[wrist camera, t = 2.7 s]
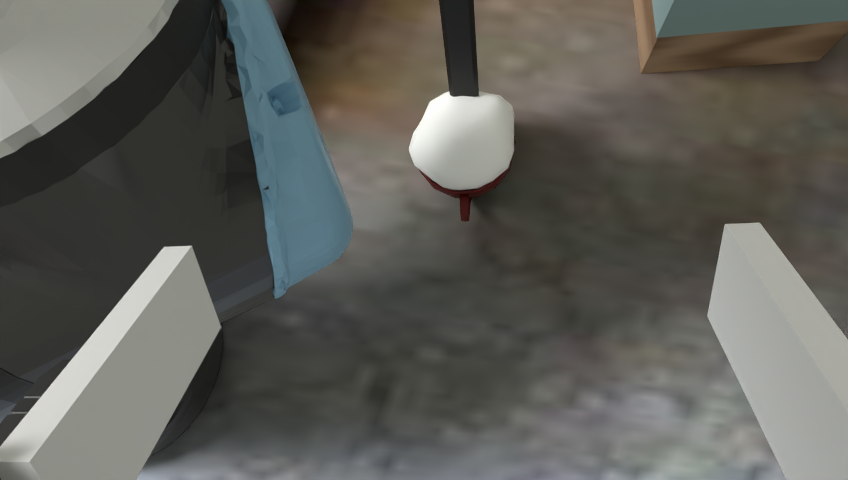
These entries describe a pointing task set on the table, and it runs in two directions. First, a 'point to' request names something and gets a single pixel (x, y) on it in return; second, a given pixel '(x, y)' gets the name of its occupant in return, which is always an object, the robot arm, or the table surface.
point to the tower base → (731, 45)
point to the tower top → (741, 15)
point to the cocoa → (463, 120)
